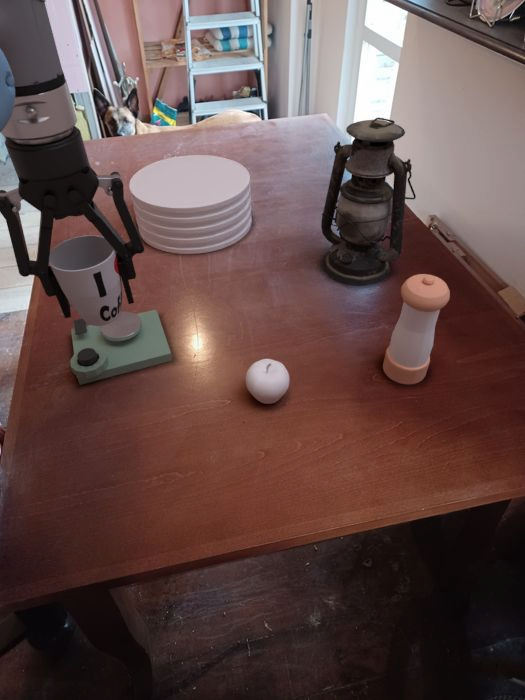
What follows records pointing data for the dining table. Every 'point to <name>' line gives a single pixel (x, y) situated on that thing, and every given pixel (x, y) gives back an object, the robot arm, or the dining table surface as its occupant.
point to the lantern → (365, 204)
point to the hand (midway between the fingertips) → (99, 304)
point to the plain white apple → (267, 380)
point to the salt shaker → (415, 328)
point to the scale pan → (115, 327)
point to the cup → (89, 277)
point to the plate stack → (192, 203)
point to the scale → (121, 350)
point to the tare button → (87, 357)
